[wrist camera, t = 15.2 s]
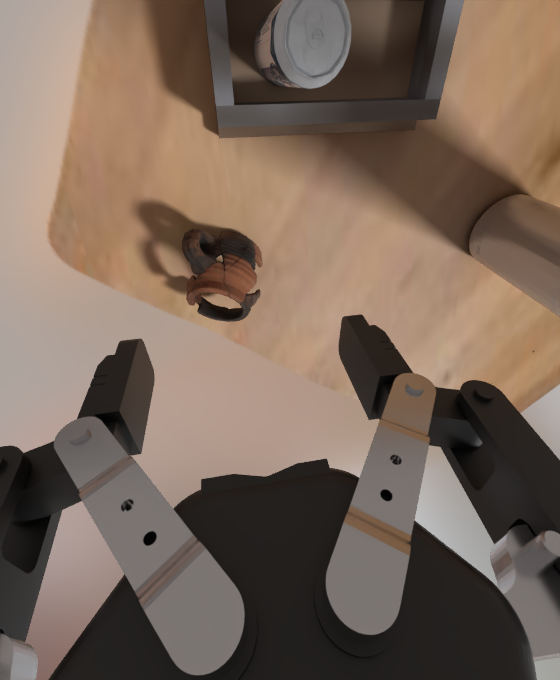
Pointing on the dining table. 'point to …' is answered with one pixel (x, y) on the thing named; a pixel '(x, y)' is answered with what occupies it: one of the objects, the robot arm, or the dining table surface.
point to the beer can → (303, 42)
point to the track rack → (352, 80)
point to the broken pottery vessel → (222, 272)
